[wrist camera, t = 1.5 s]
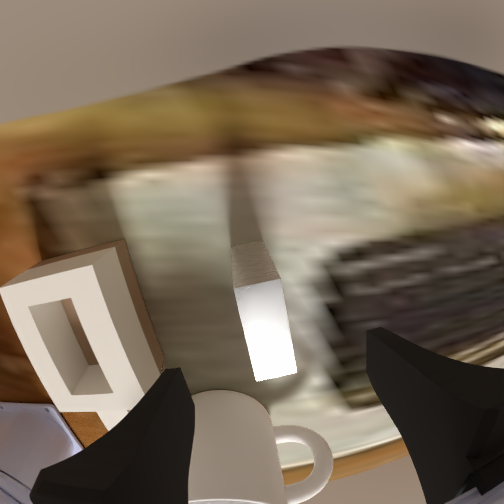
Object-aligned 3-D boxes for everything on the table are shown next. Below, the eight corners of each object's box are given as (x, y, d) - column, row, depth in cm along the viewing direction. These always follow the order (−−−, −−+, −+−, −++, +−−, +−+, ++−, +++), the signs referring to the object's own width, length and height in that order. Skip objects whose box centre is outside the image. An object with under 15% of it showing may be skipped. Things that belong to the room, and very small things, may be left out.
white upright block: (247, 317, 21) (256, 381, 15) (230, 246, 20) (233, 288, 13) (276, 311, 22) (296, 372, 15) (262, 240, 20) (280, 278, 13)
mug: (314, 370, 23) (357, 474, 13) (315, 438, 25) (344, 528, 15) (159, 390, 23) (135, 497, 13) (185, 454, 25) (178, 546, 15)
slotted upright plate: (130, 446, 24) (119, 490, 19) (41, 260, 19) (-2, 288, 14) (201, 441, 24) (199, 489, 19) (124, 238, 19) (92, 264, 14)
